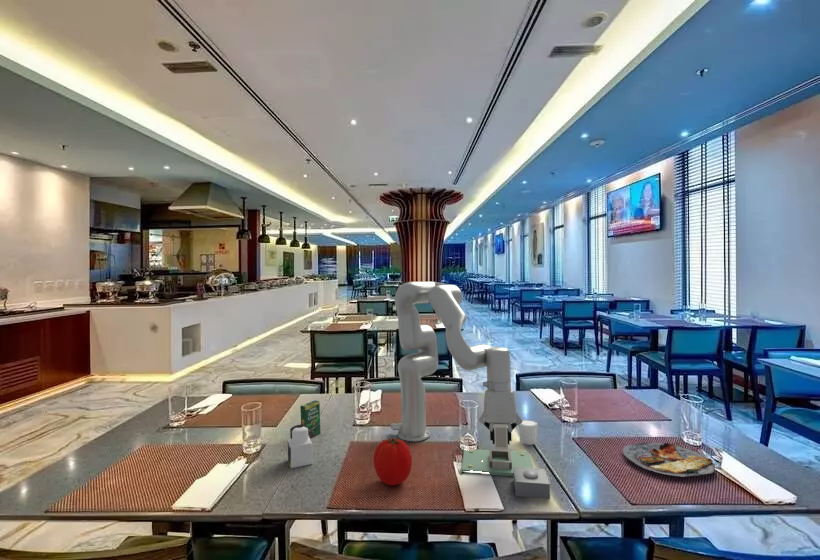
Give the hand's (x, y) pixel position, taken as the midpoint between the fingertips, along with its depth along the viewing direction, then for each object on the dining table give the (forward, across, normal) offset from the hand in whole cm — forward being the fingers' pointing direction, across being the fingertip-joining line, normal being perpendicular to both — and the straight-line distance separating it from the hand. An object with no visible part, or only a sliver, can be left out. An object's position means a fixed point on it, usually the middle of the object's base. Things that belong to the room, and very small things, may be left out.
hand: (500, 442), depth 130 cm
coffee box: (+7, -72, +15) cm, 74 cm away
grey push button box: (+8, +8, -14) cm, 17 cm away
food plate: (+9, +53, +9) cm, 54 cm away
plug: (+1, 0, 0) cm, 1 cm away
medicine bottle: (+7, -66, -7) cm, 67 cm away
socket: (+8, 0, 0) cm, 8 cm away
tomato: (+7, -32, -16) cm, 37 cm away
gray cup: (+8, +11, +21) cm, 25 cm away
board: (+7, -1, +1) cm, 8 cm away
